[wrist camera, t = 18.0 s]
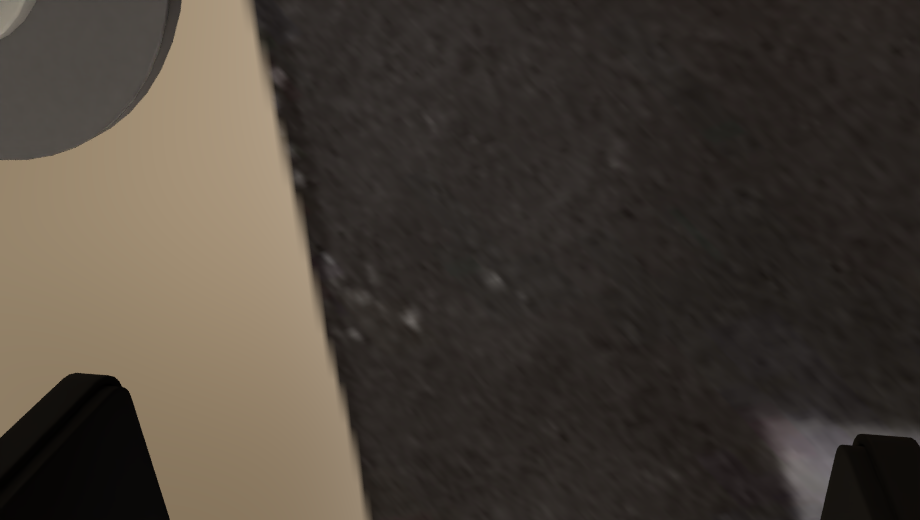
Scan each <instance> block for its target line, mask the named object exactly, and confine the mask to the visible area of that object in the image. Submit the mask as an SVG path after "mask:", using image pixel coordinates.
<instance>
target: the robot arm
mask: <svg viewBox="0 0 920 520" xmlns="http://www.w3.org/2000/svg"><path fill="white" fill-rule="evenodd" d="M35 3H36V0H0V39H2V38H4V37H6V36H8V35H10V34H11V33H12V32H13V31H14V30H15V29H16V28H17V27H18V26H19V25H20V24H22V23H23V22H24V21H25V19H26V17H27V16H28V14H29V13H30V11H31V9H32V8H33V6H34V4H35ZM0 520H170V519H169V515H168V513H167V509H166V506H165V503H164V499H163V497H162V493H161V490H160V487H159V484H158V480H157V477H156V474H155V471H154V468H153V465H152V461H151V458H150V455H149V452H148V449H147V446H146V442H145V439H144V436H143V433H142V430H141V427H140V423H139V420H138V417H137V414H136V411H135V408H134V405H133V401H132V398H131V395H130V393H129V391H128V390H127V389H126V388H123V387H122V386H121V384H120V382H119V381H118V380H117V379H116V378H115V377H113V376H109V375H95V374H82V373H74V374H69V375H68V376H66V377H65V378H63V379H62V380H61V381H60V382H59V383H58V384H57V385H56V386H55V387H54V388H53V389H52V390H51V391H50V392H49V393H47V394H46V395H45V396H44V397H43V398H42V399H41V400H40V401H39V402H38V403H37V404H36V405H35V406H34V407H33V408H32V409H30V410H29V411H28V412H27V413H26V414H25V415H24V416H23V417H22V418H21V419H20V420H19V421H18V422H17V423H16V424H15V425H14V426H12V428H10V429H9V430H8V431H7V432H6V433H5V434H4V435H3V436H2V437H1V438H0ZM821 520H920V446H919V445H918V443H917V442H916V441H915V440H914V439H912V438H908V437H895V436H882V435H870V434H859V435H857V437H856V438H855V439H854V442H853V445H852V446H850V445H840V446H839V447H838V448H837V451H836V454H835V459H834V463H833V467H832V472H831V476H830V480H829V485H828V489H827V493H826V498H825V502H824V507H823V511H822V515H821Z"/></svg>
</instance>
